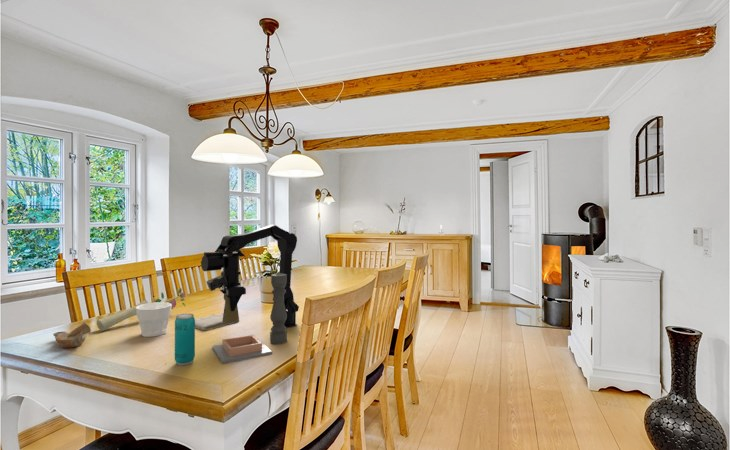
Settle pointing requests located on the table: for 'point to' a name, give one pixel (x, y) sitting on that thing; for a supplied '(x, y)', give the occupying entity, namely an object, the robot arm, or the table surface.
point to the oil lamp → (73, 336)
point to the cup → (153, 318)
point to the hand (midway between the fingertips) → (230, 309)
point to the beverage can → (184, 339)
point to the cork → (229, 312)
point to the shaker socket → (240, 348)
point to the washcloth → (210, 322)
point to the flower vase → (130, 313)
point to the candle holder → (278, 309)
